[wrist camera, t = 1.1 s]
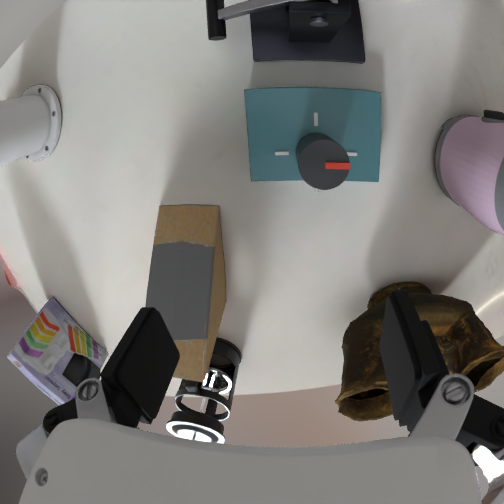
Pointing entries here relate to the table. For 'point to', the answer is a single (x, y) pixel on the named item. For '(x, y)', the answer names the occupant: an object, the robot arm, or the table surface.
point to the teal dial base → (312, 129)
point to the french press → (215, 384)
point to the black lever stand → (309, 32)
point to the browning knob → (322, 161)
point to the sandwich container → (189, 283)
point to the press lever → (239, 13)
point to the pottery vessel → (447, 336)
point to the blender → (474, 166)
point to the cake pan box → (57, 353)
